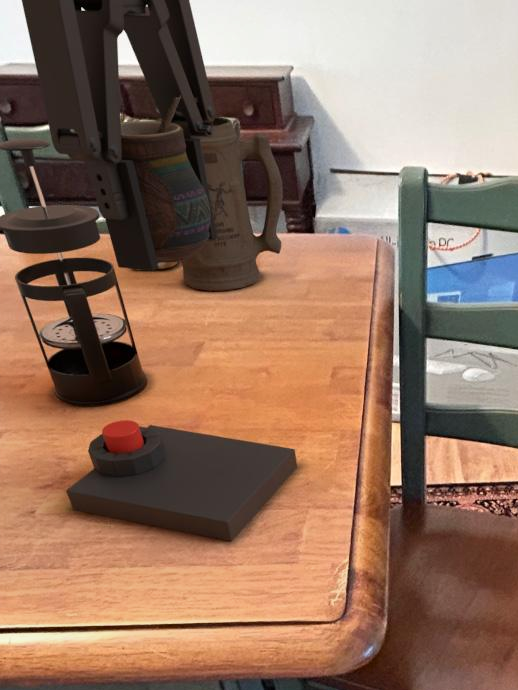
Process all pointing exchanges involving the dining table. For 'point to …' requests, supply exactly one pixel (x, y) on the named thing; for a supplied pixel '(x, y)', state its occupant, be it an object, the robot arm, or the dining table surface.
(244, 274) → the beer stein
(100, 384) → the french press
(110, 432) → the button
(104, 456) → the scale
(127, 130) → the mate gourd
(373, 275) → the dining table surface
